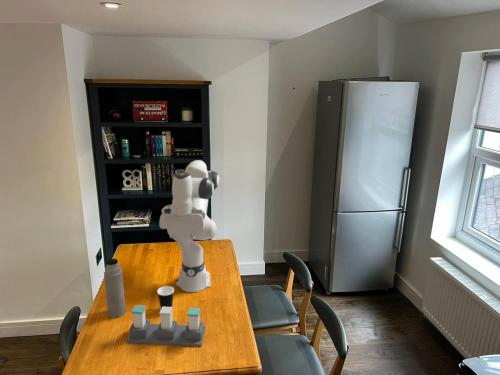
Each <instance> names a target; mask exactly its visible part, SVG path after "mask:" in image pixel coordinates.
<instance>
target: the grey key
mask: <svg viewBox="0 0 500 375" xmlns="http://www.w3.org/2000/svg"><path fill="white" fill-rule="evenodd" d="M173 310H174V307H173V306H172V307H162V309H161V308H160V311H159V316H160V322H161V329H167V330H171V328H172V325H173V321H174V320H173Z"/></svg>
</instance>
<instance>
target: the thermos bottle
mask: <svg viewBox="0 0 500 375" xmlns="http://www.w3.org/2000/svg"><path fill="white" fill-rule="evenodd" d="M105 264H106V266H105V268H104V272H103V277H104V288H105V297H106V298H105V299H106V307H107V316H108V317H109V318H112V319H119V318H121V317H123V316H124V315H125V314H126V313H127V312H126V310H127V309H126V300H125V288H124V276H123V275H124V274H123V269H122V268H121V265H120V264H119V262H118V259H117V258H110V259H107V261H106V263H105Z"/></svg>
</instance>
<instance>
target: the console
mask: <svg viewBox="0 0 500 375" xmlns="http://www.w3.org/2000/svg"><path fill="white" fill-rule="evenodd" d="M177 323H178V321H177V320H173V325H172V328H171V330H167V329H161V321H160V322H159V323H151V319H146V325H145V327H144V328H134V323H133V322H132V323H131V325H130V327H129V329H128V330H129V336H128V337H127V339H126V343H127V344H141V345H143V344H144V345H160V346H161V345H162V346H183V347H184V346H185V347H202V344H203V342H204V335H205V332H206V328H207V327H206V325H204V322H203V321H200V326H199V330H198V331H189V320H188V321H187V323H186V324H177Z"/></svg>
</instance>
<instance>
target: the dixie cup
mask: <svg viewBox="0 0 500 375" xmlns="http://www.w3.org/2000/svg"><path fill="white" fill-rule="evenodd" d="M174 292H175V289H174V287H173V286H169V285H167V286H165V285H163V286H162V287H159V288H158V289H157V292H156V293H157V296H158V301H159V306H160V310H161V309H162V307H173V301H174V300H173V299H174Z"/></svg>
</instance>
